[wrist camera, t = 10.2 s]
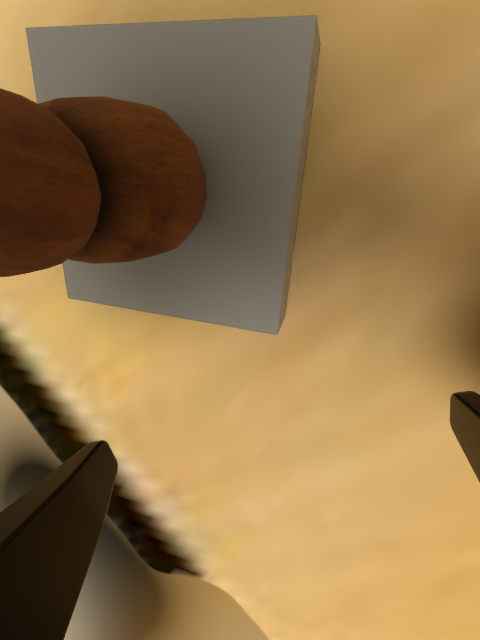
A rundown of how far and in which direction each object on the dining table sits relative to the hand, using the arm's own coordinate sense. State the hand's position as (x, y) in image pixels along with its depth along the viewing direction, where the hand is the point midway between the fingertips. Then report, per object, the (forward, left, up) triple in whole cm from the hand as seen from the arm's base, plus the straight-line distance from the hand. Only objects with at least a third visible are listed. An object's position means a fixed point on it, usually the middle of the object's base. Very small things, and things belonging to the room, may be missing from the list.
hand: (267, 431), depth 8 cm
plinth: (+8, -5, -13) cm, 16 cm away
